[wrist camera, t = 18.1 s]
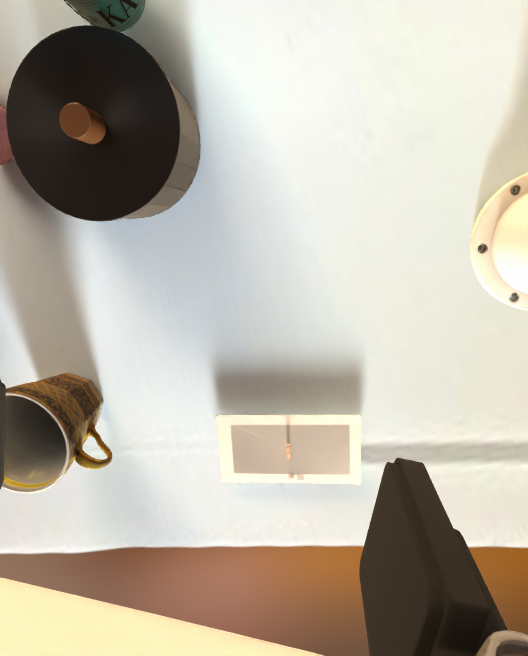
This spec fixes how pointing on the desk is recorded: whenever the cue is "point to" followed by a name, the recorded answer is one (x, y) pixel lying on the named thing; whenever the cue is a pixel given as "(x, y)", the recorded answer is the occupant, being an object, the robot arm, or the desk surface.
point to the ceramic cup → (49, 431)
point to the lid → (93, 123)
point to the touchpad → (290, 448)
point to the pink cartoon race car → (4, 139)
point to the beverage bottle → (109, 12)
